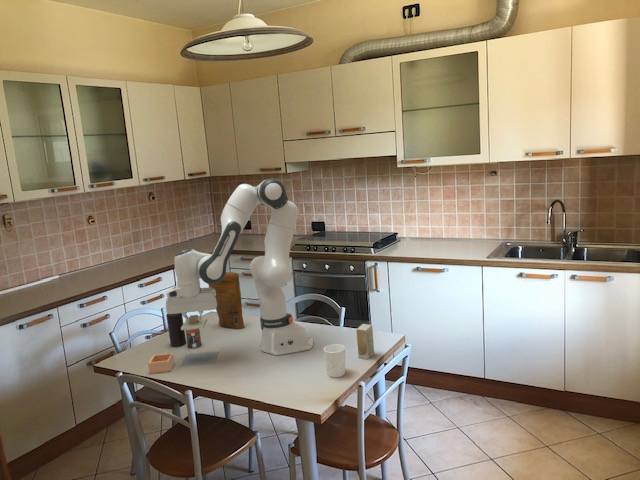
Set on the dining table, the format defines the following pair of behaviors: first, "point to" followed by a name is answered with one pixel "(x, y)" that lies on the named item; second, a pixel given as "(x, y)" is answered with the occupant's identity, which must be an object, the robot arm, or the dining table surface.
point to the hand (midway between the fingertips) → (194, 321)
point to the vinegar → (176, 330)
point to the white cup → (335, 360)
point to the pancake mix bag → (229, 301)
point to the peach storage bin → (161, 363)
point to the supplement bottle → (193, 338)
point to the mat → (199, 359)
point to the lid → (194, 323)
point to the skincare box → (365, 341)
